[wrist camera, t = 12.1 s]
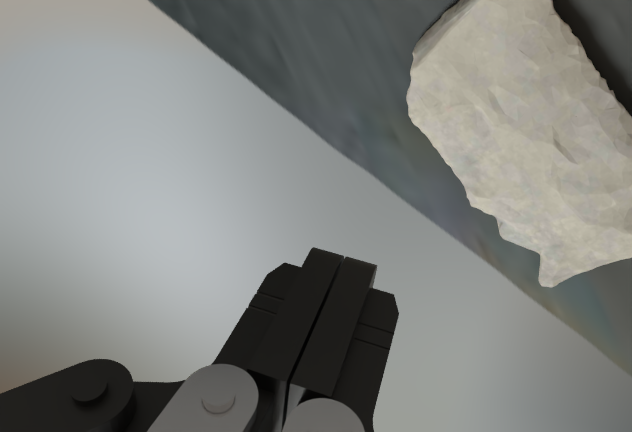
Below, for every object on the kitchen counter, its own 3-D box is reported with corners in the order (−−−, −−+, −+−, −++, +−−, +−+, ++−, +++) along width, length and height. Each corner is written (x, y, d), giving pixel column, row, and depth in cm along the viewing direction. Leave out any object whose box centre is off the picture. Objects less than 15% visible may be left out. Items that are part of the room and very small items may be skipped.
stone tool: (695, 217, 40) (529, -60, 33) (710, 247, 37) (531, -50, 30) (536, 274, 47) (373, 58, 40) (537, 303, 44) (362, 75, 37)
